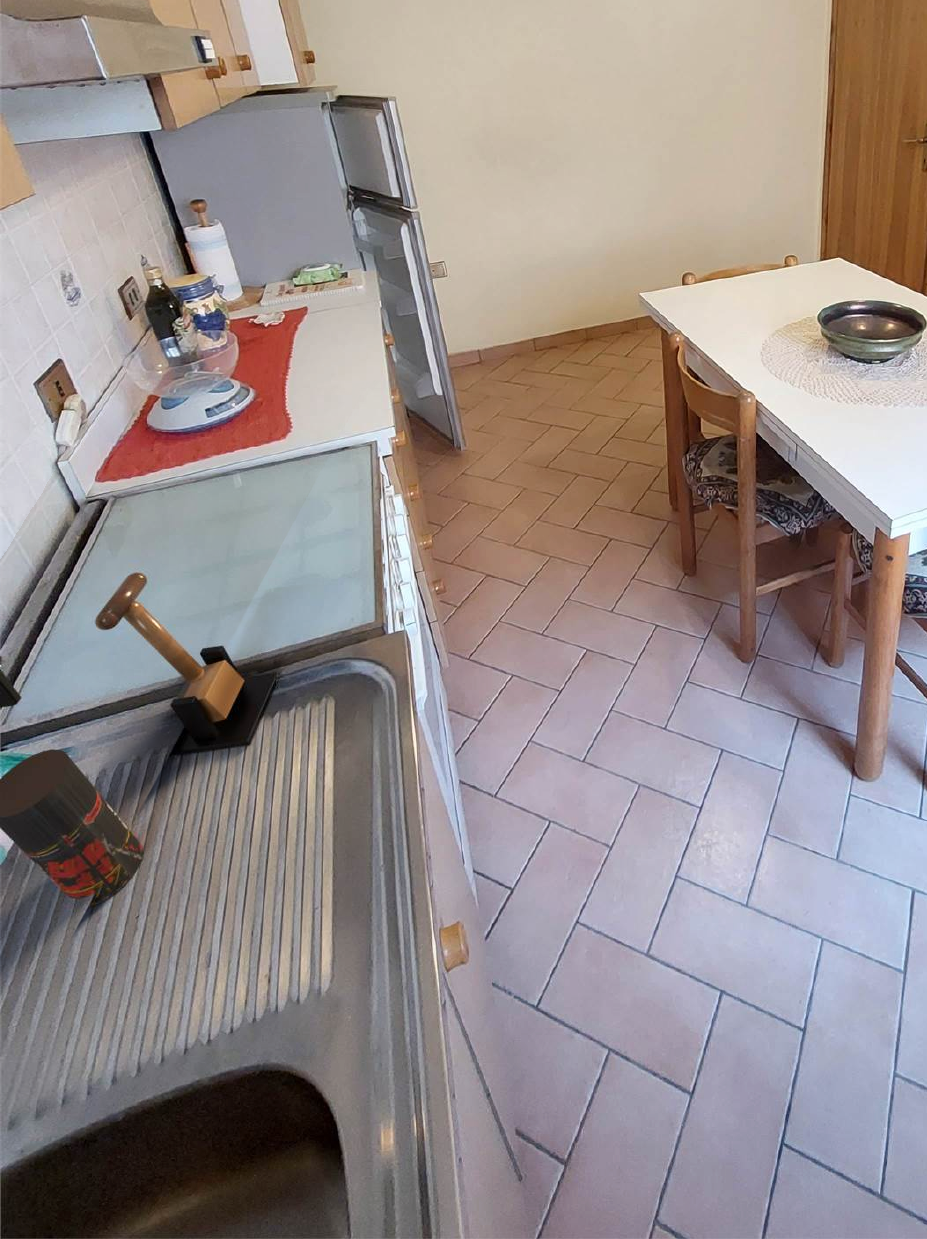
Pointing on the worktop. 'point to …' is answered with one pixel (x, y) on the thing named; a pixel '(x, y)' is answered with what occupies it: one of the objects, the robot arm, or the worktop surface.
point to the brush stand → (240, 719)
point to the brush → (173, 651)
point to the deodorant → (67, 827)
